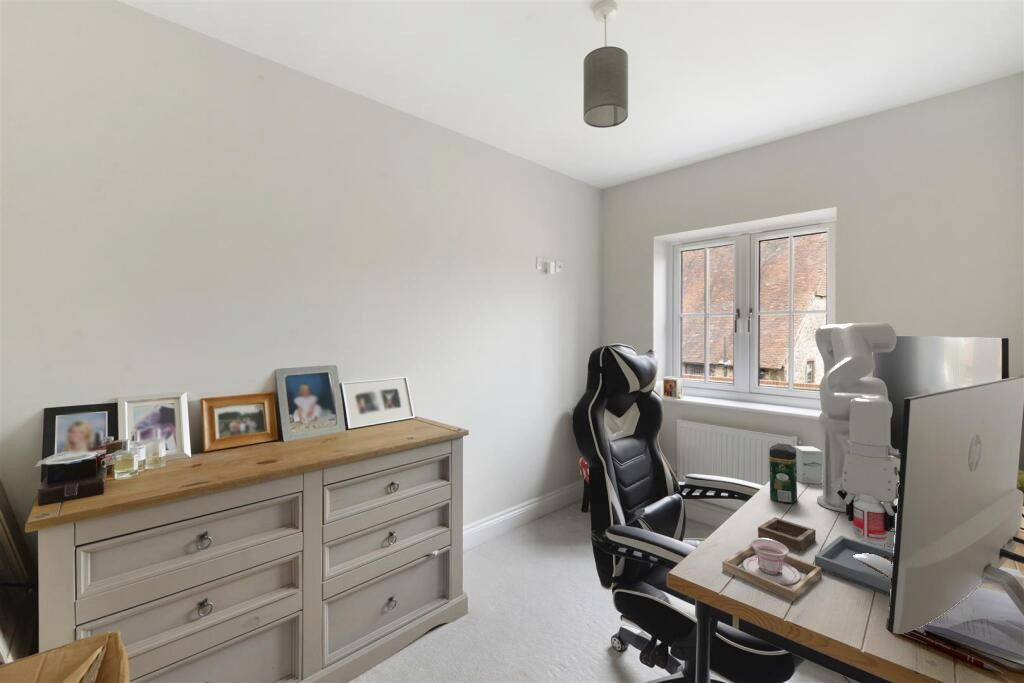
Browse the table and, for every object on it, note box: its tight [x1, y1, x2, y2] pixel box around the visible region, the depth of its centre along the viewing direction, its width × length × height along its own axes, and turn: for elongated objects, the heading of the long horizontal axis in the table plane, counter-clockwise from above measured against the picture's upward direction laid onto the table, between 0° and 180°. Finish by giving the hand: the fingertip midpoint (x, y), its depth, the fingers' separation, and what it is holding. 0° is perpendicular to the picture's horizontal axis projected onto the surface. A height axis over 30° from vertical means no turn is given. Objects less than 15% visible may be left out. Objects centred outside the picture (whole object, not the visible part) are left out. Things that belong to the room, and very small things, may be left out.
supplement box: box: [792, 445, 823, 485], centre depth 165 cm, size 7×7×13 cm
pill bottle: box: [853, 494, 888, 545], centre depth 103 cm, size 6×6×11 cm
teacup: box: [742, 537, 801, 586], centre depth 105 cm, size 12×12×6 cm
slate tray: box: [814, 535, 894, 597], centre depth 104 cm, size 17×17×3 cm
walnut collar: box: [757, 517, 817, 553], centre depth 120 cm, size 10×10×3 cm
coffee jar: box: [768, 443, 798, 504], centre depth 148 cm, size 10×8×19 cm
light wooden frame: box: [721, 543, 823, 602], centre depth 104 cm, size 16×16×2 cm
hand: (869, 523), depth 103 cm, fingers closed on pill bottle, 6 cm apart
